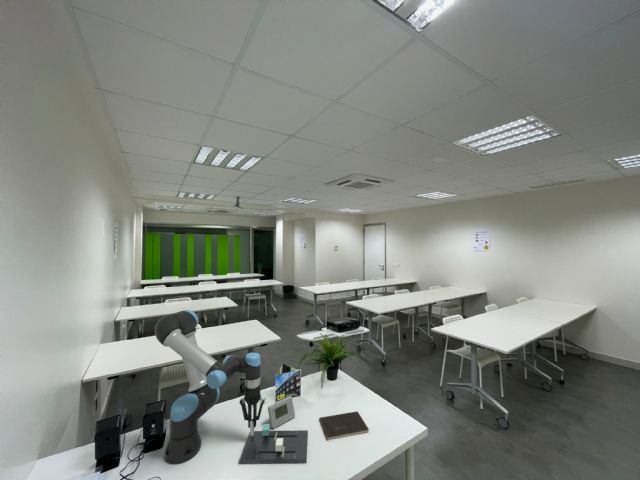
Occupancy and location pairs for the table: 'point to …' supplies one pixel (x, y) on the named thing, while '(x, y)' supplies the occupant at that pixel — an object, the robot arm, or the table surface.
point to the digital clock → (281, 412)
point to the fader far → (265, 429)
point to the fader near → (279, 444)
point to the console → (264, 448)
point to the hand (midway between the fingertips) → (252, 433)
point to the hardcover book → (343, 425)
